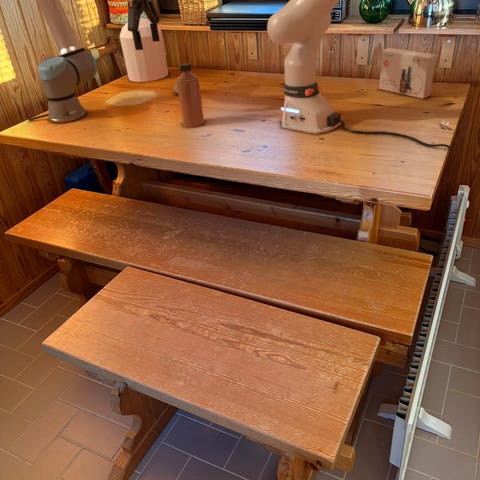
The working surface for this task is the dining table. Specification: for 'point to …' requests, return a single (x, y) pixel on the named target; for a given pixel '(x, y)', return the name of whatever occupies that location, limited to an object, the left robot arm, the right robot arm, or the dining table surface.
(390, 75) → the skincare box
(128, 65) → the container
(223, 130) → the dining table surface
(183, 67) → the cap
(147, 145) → the dining table surface
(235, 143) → the dining table surface
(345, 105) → the dining table surface
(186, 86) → the bottle
